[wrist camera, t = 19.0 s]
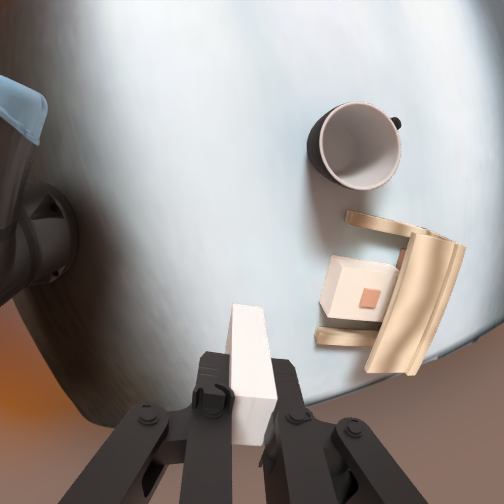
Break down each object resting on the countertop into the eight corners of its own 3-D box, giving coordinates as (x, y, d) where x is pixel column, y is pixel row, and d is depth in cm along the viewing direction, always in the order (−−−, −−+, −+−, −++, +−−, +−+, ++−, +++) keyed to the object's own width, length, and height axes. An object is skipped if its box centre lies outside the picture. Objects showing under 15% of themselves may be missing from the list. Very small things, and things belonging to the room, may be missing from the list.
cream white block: (318, 300, 43) (328, 319, 37) (330, 254, 41) (343, 268, 35) (377, 306, 44) (392, 324, 38) (391, 264, 42) (409, 278, 36)
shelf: (314, 334, 44) (331, 376, 34) (347, 210, 39) (379, 226, 29) (388, 339, 45) (415, 375, 36) (425, 228, 40) (466, 247, 30)
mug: (319, 194, 38) (345, 207, 28) (284, 133, 35) (301, 124, 26) (391, 154, 37) (433, 155, 27) (361, 95, 34) (398, 79, 24)
